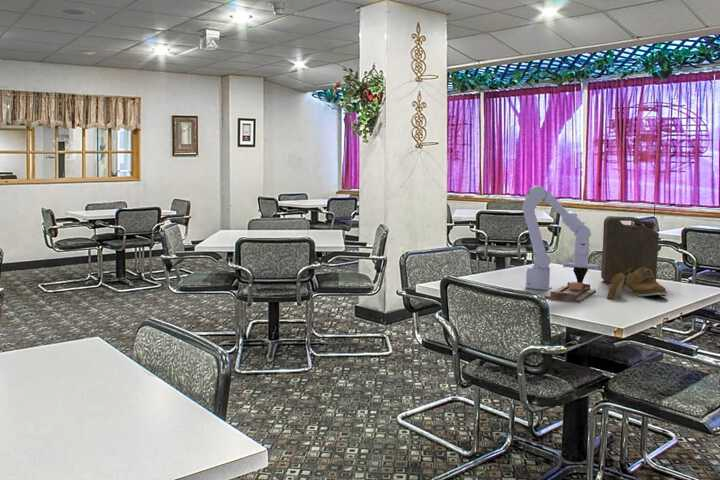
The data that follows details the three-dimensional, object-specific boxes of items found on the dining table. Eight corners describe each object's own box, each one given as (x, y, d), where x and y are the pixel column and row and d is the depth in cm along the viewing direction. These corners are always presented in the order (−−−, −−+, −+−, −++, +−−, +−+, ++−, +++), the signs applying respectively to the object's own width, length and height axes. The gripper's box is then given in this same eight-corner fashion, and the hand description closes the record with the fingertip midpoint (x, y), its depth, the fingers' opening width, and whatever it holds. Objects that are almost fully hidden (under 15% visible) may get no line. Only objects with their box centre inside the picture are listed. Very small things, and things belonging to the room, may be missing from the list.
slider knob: (568, 289, 278) (568, 283, 278) (571, 287, 281) (571, 281, 281) (580, 290, 275) (581, 284, 275) (583, 288, 279) (583, 282, 279)
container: (604, 284, 298) (607, 217, 295) (599, 280, 308) (602, 215, 305) (657, 285, 295) (661, 218, 291) (650, 281, 305) (654, 216, 301)
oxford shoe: (617, 288, 290) (618, 262, 289) (640, 288, 291) (641, 262, 290) (646, 300, 263) (648, 272, 261) (672, 301, 263) (674, 272, 262)
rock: (615, 295, 261) (634, 289, 265) (604, 276, 264) (623, 271, 268) (600, 306, 269) (618, 301, 273) (589, 288, 273) (607, 283, 277)
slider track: (544, 298, 265) (544, 290, 264) (562, 288, 287) (562, 281, 286) (580, 302, 257) (580, 294, 257) (595, 291, 279) (596, 284, 279)
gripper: (561, 253, 283) (560, 284, 284) (596, 256, 275) (595, 288, 277) (566, 251, 289) (564, 282, 290) (600, 254, 281) (599, 285, 283)
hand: (579, 285), depth 284 cm, fingers closed
